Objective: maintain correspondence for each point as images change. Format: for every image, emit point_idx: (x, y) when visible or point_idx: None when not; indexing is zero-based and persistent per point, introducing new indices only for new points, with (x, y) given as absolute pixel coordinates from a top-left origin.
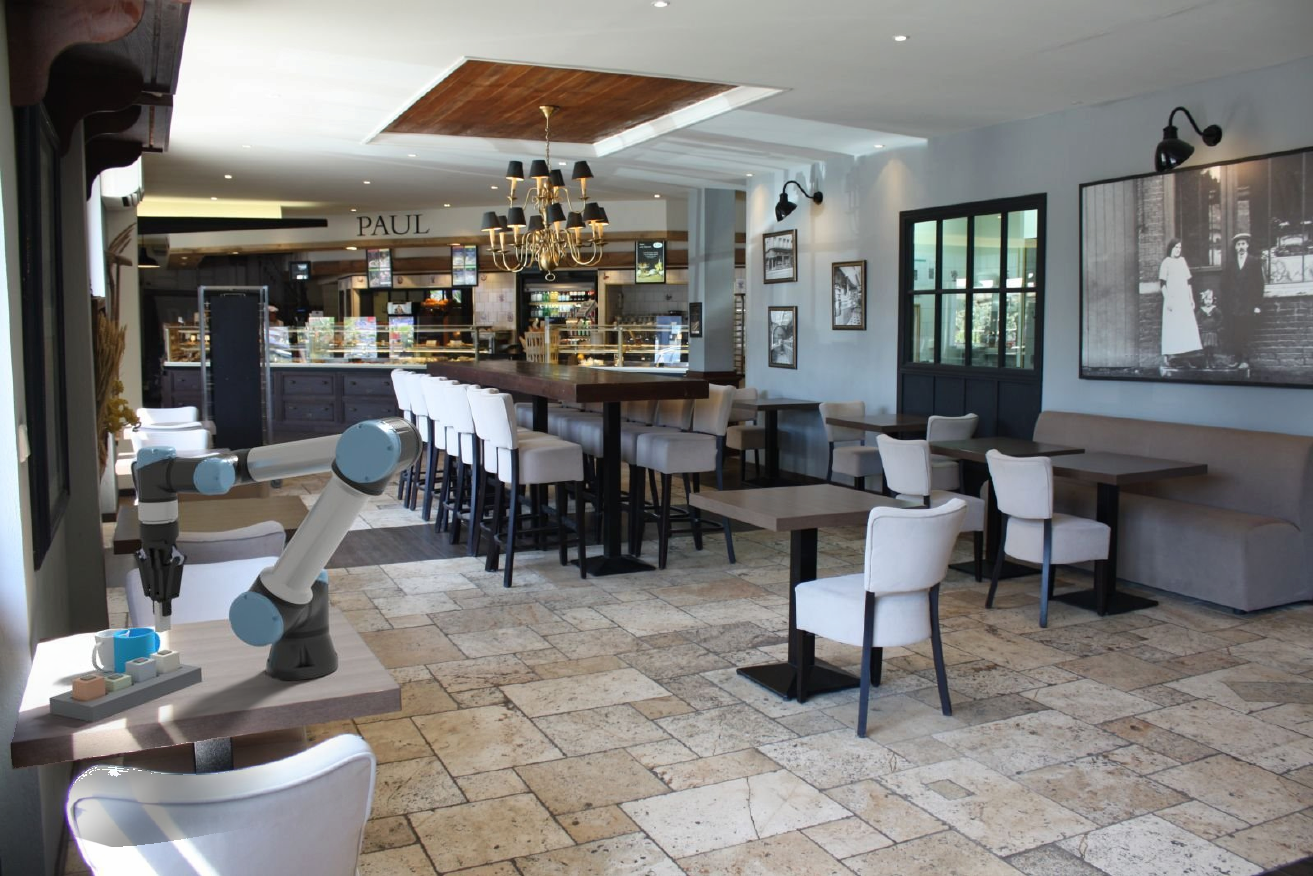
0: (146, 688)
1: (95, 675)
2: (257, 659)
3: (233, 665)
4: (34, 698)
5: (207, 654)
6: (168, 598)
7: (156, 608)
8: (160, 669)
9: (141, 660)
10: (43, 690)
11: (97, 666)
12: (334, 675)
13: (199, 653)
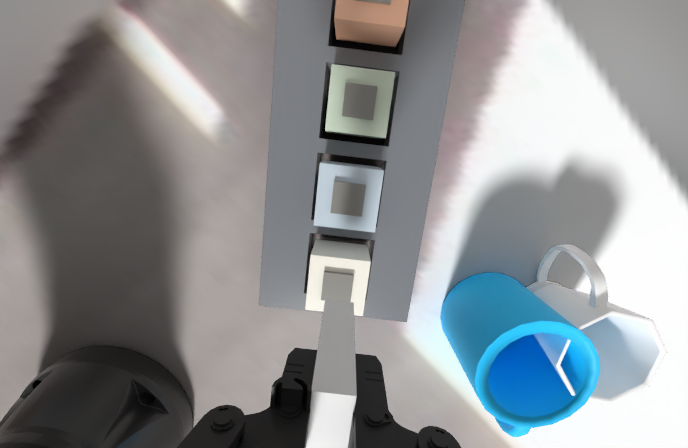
0: (270, 127)
1: (376, 20)
2: None
3: None
4: (584, 57)
5: None
6: (217, 412)
7: (338, 365)
8: (329, 244)
9: (339, 194)
10: (604, 117)
11: (551, 249)
12: None
13: None
